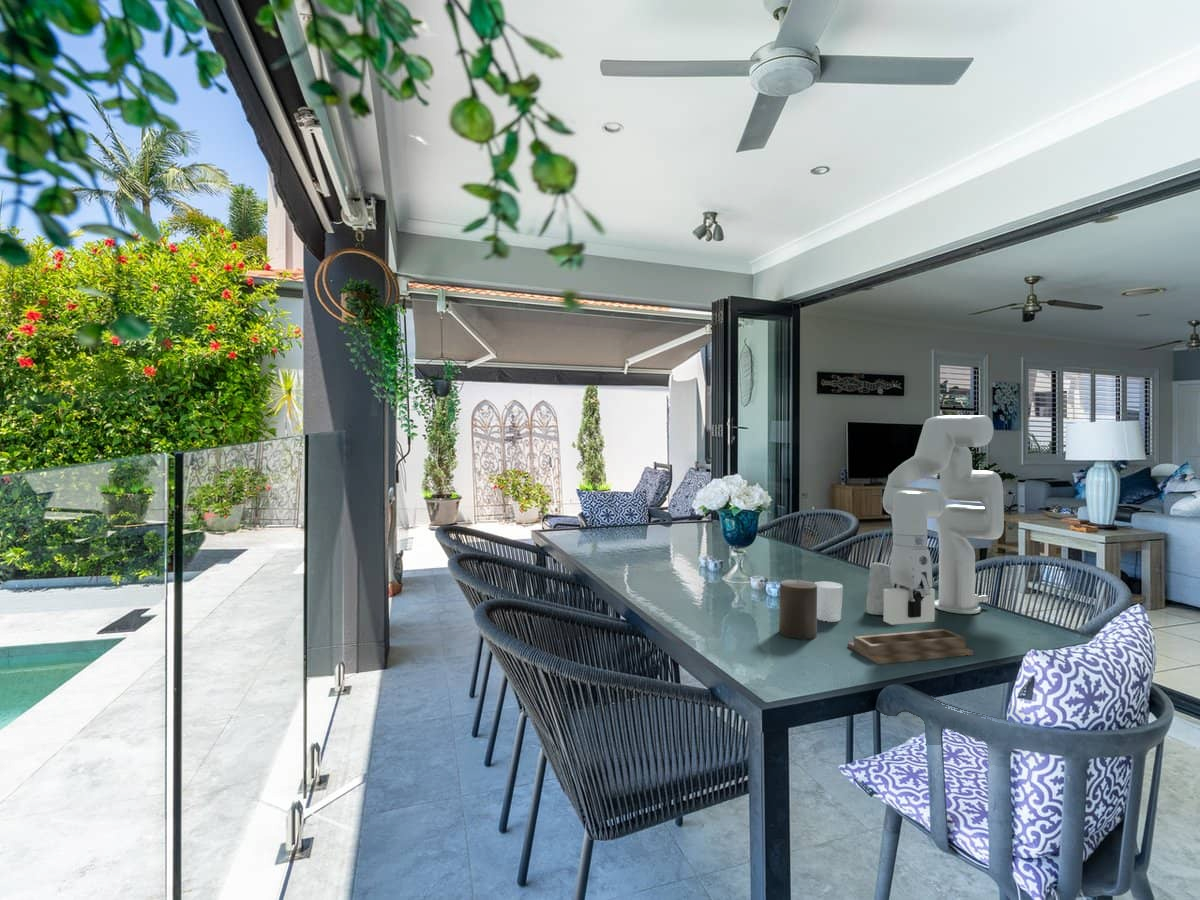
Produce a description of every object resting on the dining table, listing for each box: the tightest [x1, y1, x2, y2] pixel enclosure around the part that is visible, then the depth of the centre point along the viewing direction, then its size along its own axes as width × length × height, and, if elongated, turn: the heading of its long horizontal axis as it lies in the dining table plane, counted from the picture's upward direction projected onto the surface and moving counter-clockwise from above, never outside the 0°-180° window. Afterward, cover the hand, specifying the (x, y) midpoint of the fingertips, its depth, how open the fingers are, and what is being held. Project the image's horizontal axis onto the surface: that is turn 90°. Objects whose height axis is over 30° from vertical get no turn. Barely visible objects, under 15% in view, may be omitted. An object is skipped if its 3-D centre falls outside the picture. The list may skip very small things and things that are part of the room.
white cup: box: [814, 580, 844, 623], centre depth 180 cm, size 8×8×10 cm
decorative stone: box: [866, 562, 894, 616], centre depth 184 cm, size 11×6×15 cm, turn 71°
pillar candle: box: [778, 579, 818, 640], centre depth 168 cm, size 10×10×15 cm
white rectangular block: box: [882, 587, 936, 626], centre depth 154 cm, size 12×3×8 cm, turn 101°
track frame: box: [847, 628, 974, 665], centre depth 154 cm, size 26×12×3 cm, turn 101°
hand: (909, 614), depth 154 cm, fingers closed on white rectangular block, 3 cm apart
